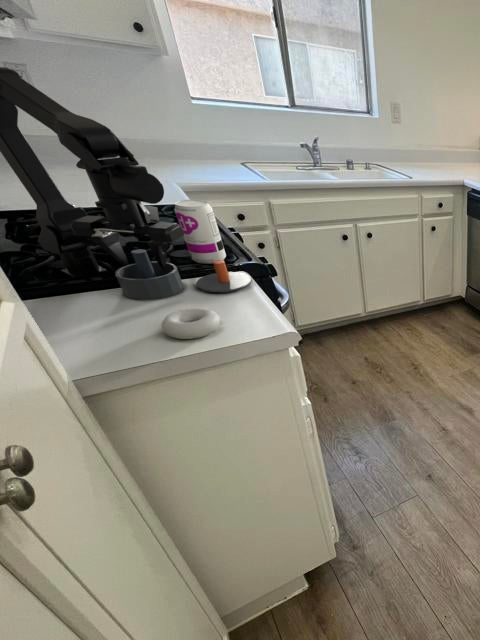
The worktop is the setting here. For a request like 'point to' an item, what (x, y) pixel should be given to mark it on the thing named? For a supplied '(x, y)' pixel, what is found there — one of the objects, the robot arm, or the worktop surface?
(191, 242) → the supplement can
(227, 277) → the bowl lid
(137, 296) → the bowl
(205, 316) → the donut
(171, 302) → the worktop surface
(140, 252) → the food processor blade
